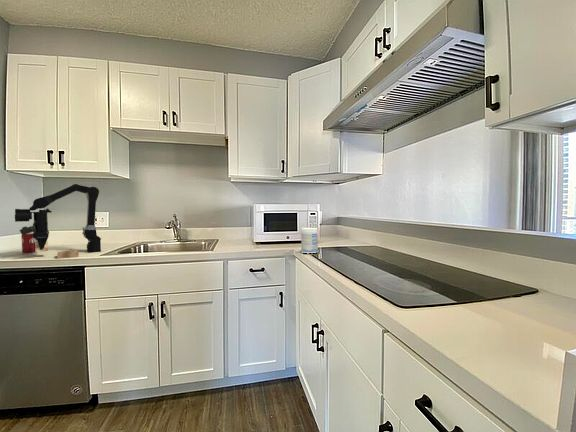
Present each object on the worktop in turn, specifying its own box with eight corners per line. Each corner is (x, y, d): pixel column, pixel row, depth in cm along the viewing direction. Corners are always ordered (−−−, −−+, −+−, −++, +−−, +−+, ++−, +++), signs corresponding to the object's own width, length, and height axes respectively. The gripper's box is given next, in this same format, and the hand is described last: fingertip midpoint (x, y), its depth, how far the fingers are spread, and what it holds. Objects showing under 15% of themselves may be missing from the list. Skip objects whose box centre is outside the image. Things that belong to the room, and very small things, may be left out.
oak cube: (48, 249, 158) (47, 241, 157) (47, 251, 154) (47, 242, 154) (36, 250, 154) (35, 241, 154) (35, 252, 151) (35, 242, 150)
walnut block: (77, 255, 161) (77, 250, 161) (78, 257, 154) (78, 252, 154) (57, 257, 155) (57, 251, 155) (57, 259, 148) (57, 254, 148)
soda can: (19, 254, 161) (18, 234, 161) (27, 252, 168) (26, 232, 168) (34, 253, 163) (33, 233, 163) (41, 251, 170) (40, 232, 170)
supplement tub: (315, 255, 156) (315, 229, 156) (299, 254, 159) (299, 228, 158) (319, 252, 165) (319, 227, 165) (303, 251, 168) (303, 227, 168)
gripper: (22, 220, 155) (23, 248, 156) (18, 222, 141) (20, 252, 142) (48, 220, 163) (49, 246, 163) (47, 221, 148) (48, 250, 149)
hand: (41, 249), depth 154 cm, fingers closed on oak cube, 5 cm apart
